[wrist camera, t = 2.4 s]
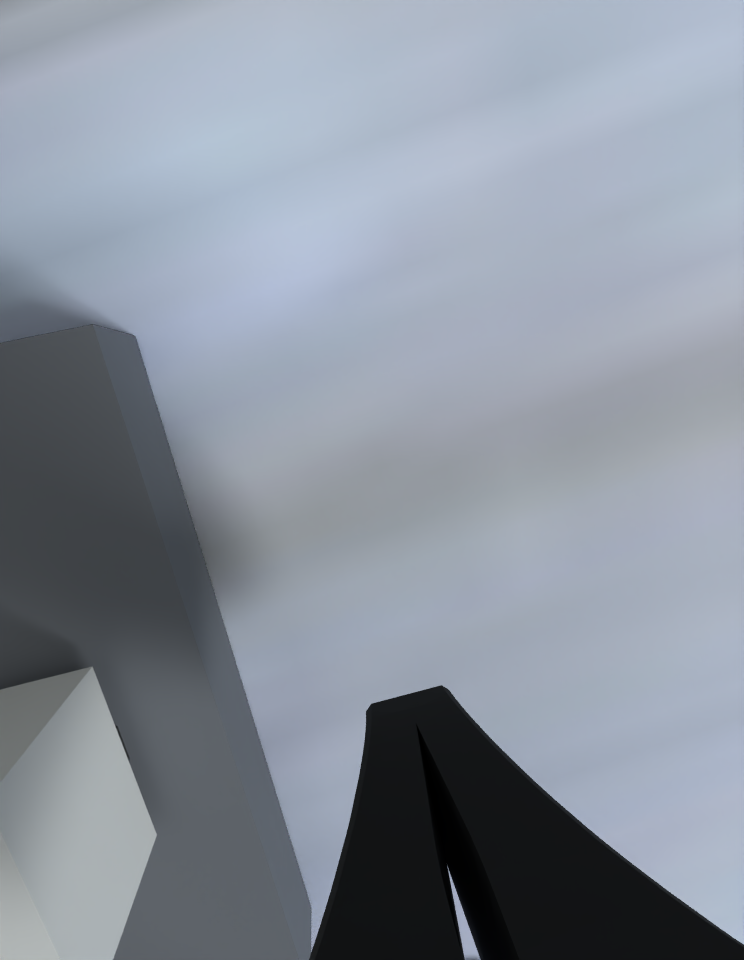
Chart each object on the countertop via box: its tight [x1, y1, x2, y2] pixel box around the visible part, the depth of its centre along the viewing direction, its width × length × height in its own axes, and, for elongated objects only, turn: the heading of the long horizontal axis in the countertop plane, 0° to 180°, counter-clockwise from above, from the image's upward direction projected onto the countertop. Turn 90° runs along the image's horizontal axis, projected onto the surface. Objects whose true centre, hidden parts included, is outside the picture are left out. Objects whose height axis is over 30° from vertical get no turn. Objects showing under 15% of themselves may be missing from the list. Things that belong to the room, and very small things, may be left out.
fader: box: [0, 667, 157, 960], centre depth 8 cm, size 4×2×3 cm, turn 12°
